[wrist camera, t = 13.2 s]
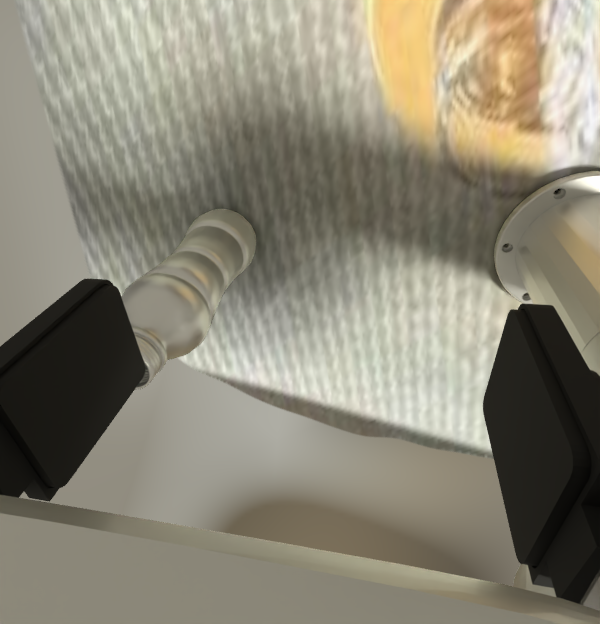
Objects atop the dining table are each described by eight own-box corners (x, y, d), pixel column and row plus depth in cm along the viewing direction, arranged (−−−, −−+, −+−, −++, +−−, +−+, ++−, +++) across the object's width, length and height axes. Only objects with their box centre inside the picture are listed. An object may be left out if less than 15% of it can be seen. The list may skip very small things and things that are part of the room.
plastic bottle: (185, 217, 41) (49, 343, 25) (241, 190, 38) (128, 311, 22) (220, 270, 44) (118, 414, 27) (274, 248, 41) (196, 393, 25)
